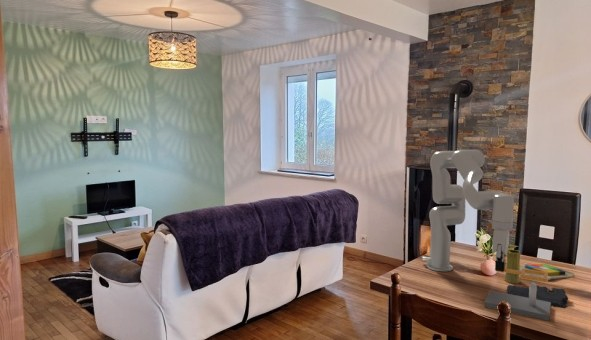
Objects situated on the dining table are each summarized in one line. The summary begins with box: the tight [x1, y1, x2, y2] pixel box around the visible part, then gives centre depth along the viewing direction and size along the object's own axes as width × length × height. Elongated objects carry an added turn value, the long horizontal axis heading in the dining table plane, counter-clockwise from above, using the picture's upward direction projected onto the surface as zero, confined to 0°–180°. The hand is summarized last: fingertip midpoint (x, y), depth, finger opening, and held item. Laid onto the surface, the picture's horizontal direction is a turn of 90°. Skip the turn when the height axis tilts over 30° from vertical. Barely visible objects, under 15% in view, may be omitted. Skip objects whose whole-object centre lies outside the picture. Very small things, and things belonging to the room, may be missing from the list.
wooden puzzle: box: [520, 262, 575, 282], centre depth 201 cm, size 18×19×4 cm
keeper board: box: [483, 281, 552, 322], centre depth 162 cm, size 22×14×11 cm, turn 56°
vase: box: [504, 249, 521, 284], centre depth 190 cm, size 6×6×14 cm
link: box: [494, 256, 548, 283], centre depth 161 cm, size 18×9×6 cm, turn 56°
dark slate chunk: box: [506, 284, 569, 309], centre depth 172 cm, size 15×22×5 cm
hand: (500, 269), depth 165 cm, fingers closed on link, 3 cm apart
